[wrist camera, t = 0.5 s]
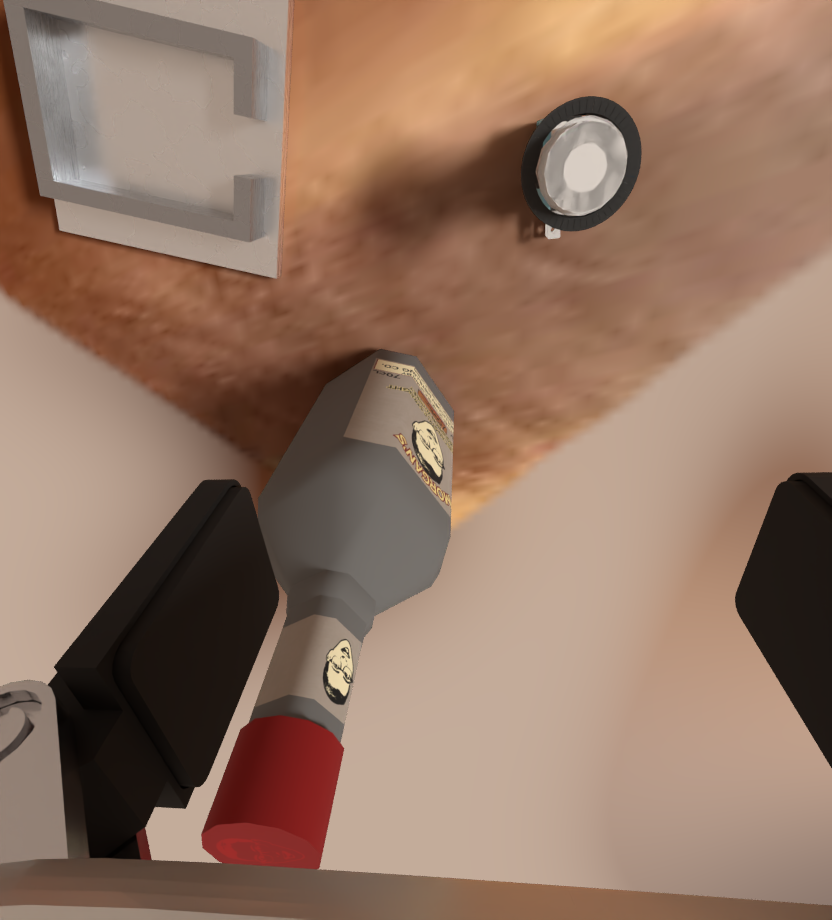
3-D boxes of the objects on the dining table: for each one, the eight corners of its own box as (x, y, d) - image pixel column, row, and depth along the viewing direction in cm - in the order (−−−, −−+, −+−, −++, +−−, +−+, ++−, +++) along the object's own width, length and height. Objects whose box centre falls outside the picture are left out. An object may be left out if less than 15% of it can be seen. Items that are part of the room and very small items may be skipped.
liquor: (377, 472, 43) (257, 923, 18) (310, 391, 40) (40, 812, 14) (466, 424, 40) (476, 889, 15) (402, 331, 36) (268, 734, 11)
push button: (590, 230, 32) (637, 257, 24) (507, 239, 33) (524, 269, 24) (598, 106, 29) (656, 84, 20) (505, 118, 29) (524, 103, 21)
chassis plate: (20, -71, 27) (-36, -99, 24) (294, -4, 27) (273, -23, 24) (69, 228, 34) (32, 235, 32) (280, 275, 35) (264, 286, 32)
